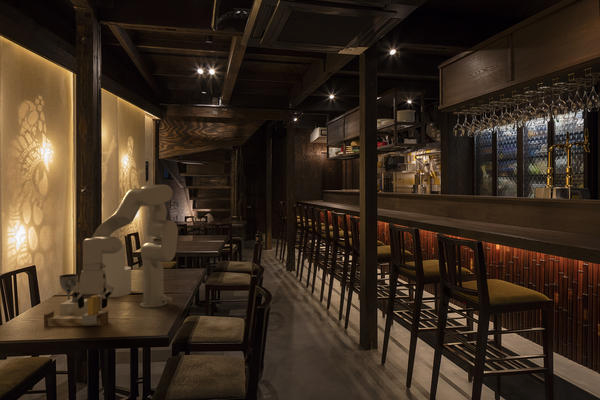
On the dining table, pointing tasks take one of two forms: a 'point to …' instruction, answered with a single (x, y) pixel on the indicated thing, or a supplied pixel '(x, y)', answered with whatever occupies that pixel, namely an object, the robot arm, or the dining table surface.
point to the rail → (72, 320)
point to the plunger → (74, 298)
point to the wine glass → (68, 283)
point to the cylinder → (117, 273)
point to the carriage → (92, 311)
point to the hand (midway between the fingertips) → (92, 307)
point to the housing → (72, 308)
